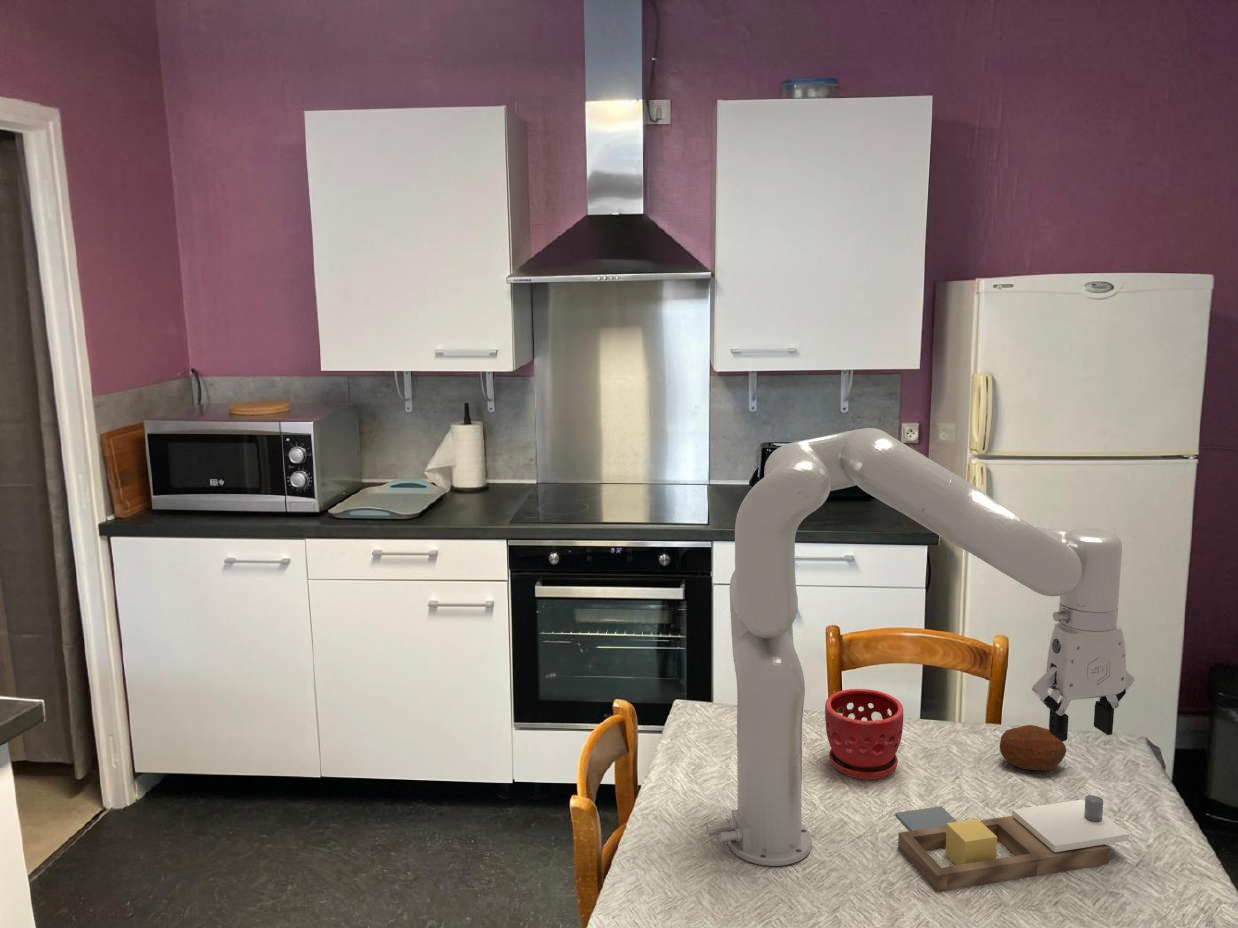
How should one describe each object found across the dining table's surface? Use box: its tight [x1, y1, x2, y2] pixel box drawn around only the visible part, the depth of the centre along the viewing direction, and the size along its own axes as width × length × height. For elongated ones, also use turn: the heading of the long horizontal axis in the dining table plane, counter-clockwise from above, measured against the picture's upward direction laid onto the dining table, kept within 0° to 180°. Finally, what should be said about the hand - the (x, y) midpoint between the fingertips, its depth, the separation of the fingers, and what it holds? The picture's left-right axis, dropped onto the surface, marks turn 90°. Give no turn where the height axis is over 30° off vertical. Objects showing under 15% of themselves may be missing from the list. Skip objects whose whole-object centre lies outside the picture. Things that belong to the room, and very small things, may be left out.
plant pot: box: [824, 688, 904, 780], centre depth 168 cm, size 13×13×12 cm
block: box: [944, 818, 998, 865], centre depth 140 cm, size 5×5×5 cm
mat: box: [894, 805, 958, 831], centre depth 150 cm, size 8×8×1 cm
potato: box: [999, 724, 1067, 771], centre depth 167 cm, size 8×11×8 cm
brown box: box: [897, 815, 1110, 893], centre depth 142 cm, size 27×11×2 cm, turn 102°
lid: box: [1011, 794, 1130, 852], centre depth 143 cm, size 12×10×4 cm
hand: (1080, 732), depth 141 cm, fingers open, 6 cm apart
